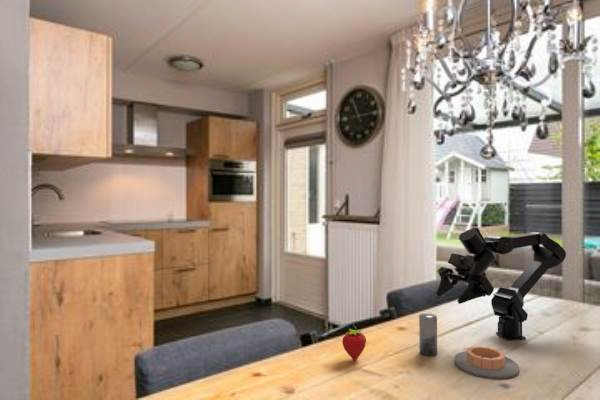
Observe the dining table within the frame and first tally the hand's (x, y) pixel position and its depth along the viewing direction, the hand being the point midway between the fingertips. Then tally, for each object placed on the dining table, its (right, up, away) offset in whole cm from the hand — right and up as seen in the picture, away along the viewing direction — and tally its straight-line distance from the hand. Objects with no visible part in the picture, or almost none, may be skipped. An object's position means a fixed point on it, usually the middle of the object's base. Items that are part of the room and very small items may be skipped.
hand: (447, 298), depth 119 cm
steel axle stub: (-7, -15, -4) cm, 17 cm away
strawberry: (-30, -15, -9) cm, 35 cm away
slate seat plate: (+5, -15, -13) cm, 21 cm away
